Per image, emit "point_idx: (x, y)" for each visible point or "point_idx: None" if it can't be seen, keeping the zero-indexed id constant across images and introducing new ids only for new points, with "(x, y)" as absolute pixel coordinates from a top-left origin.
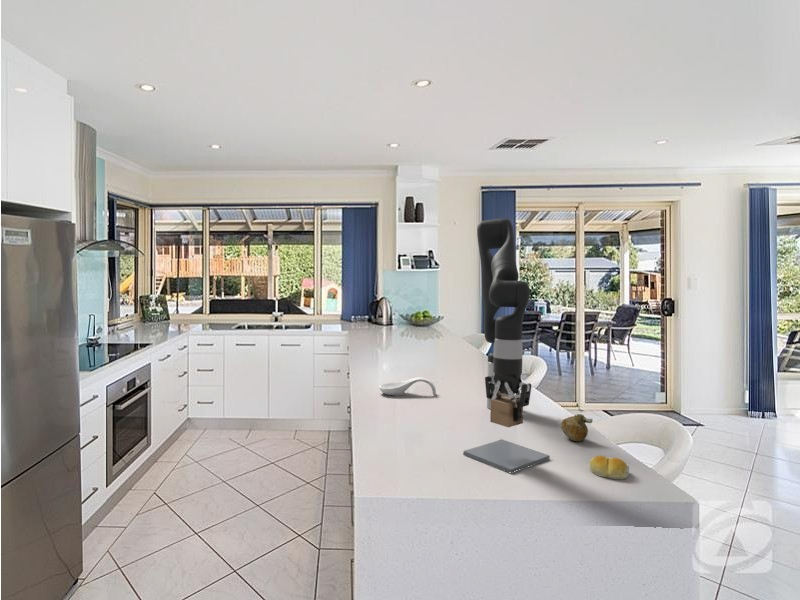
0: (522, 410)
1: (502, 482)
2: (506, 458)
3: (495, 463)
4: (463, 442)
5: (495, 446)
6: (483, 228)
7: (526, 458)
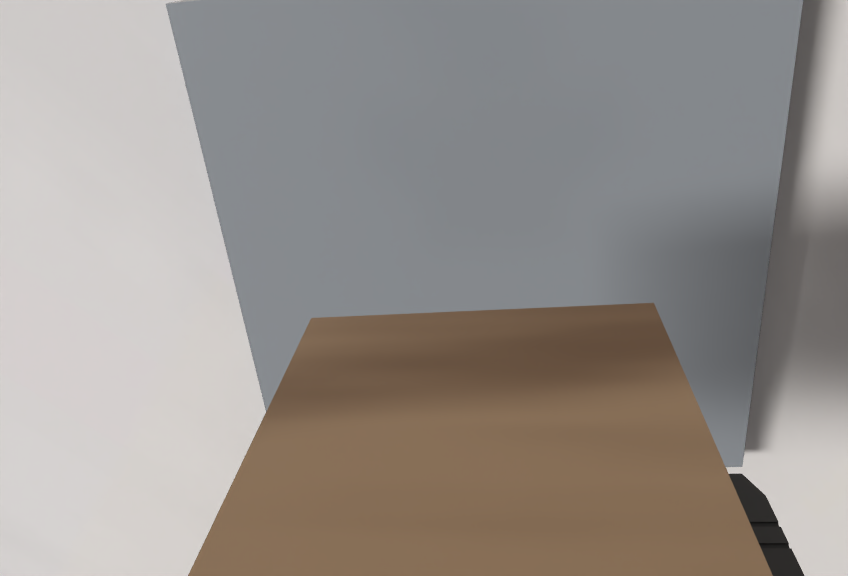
0: (707, 444)
1: None
2: None
3: None
4: (53, 294)
5: (312, 219)
6: None
7: (691, 215)
